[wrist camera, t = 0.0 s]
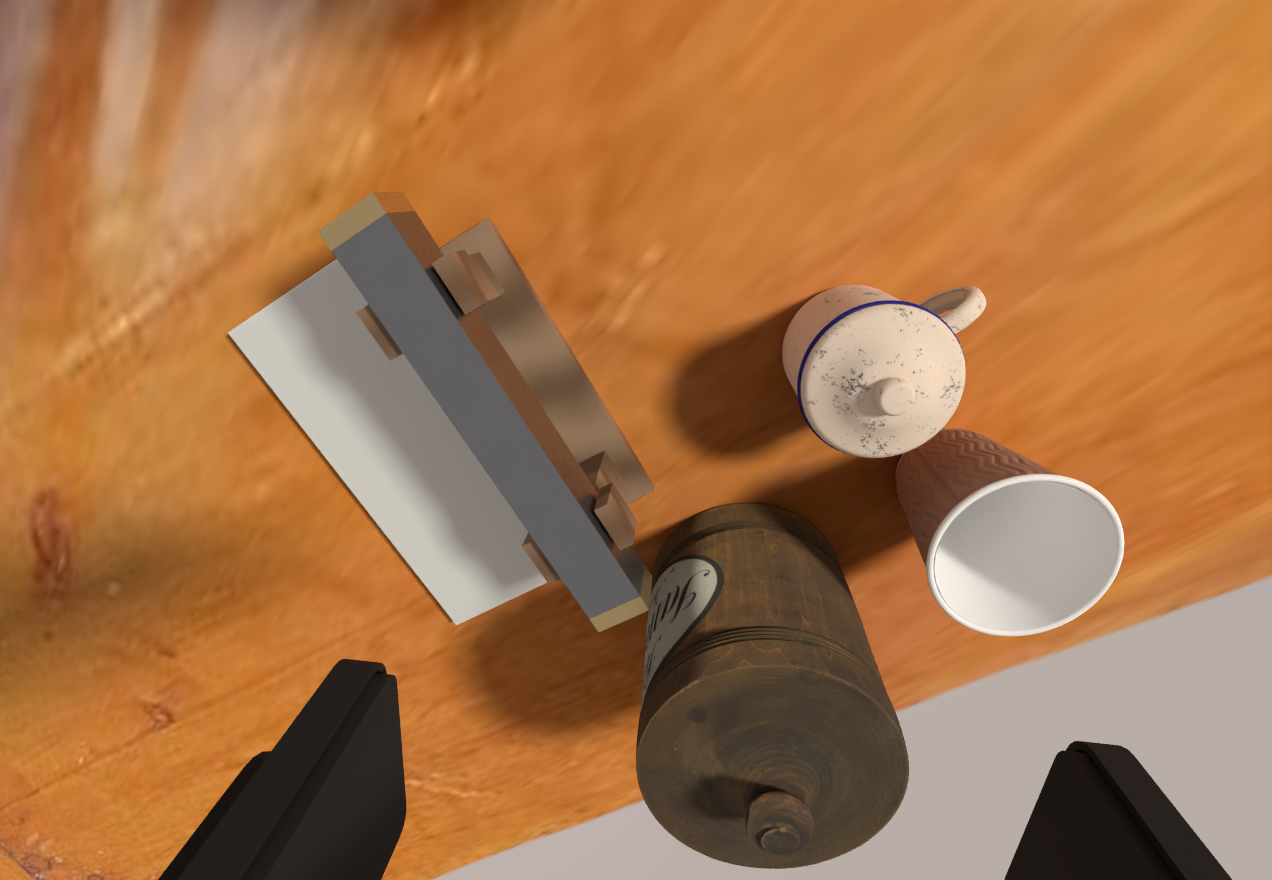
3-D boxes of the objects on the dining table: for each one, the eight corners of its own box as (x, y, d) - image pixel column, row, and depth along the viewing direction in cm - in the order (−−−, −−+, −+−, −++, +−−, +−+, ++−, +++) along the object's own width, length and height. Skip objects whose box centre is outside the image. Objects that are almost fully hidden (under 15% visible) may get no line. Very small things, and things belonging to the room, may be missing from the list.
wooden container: (649, 500, 49) (623, 720, 29) (847, 501, 48) (967, 732, 28) (652, 657, 55) (632, 938, 34) (831, 662, 54) (921, 955, 33)
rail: (351, 227, 36) (317, 230, 32) (402, 191, 35) (372, 192, 31) (605, 598, 43) (598, 632, 40) (652, 576, 42) (649, 610, 39)
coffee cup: (944, 558, 49) (1020, 666, 38) (840, 484, 48) (888, 575, 37) (1051, 458, 46) (1168, 545, 35) (942, 375, 44) (1029, 438, 33)
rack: (418, 264, 44) (337, 287, 34) (489, 218, 43) (428, 227, 32) (586, 518, 50) (561, 602, 40) (654, 485, 49) (645, 563, 39)
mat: (236, 329, 47) (227, 332, 46) (352, 251, 44) (345, 252, 43) (460, 617, 55) (456, 625, 54) (569, 565, 52) (567, 572, 51)
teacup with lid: (823, 435, 46) (865, 510, 36) (751, 334, 44) (773, 382, 33) (979, 335, 43) (1078, 384, 32) (910, 221, 41) (991, 233, 30)
